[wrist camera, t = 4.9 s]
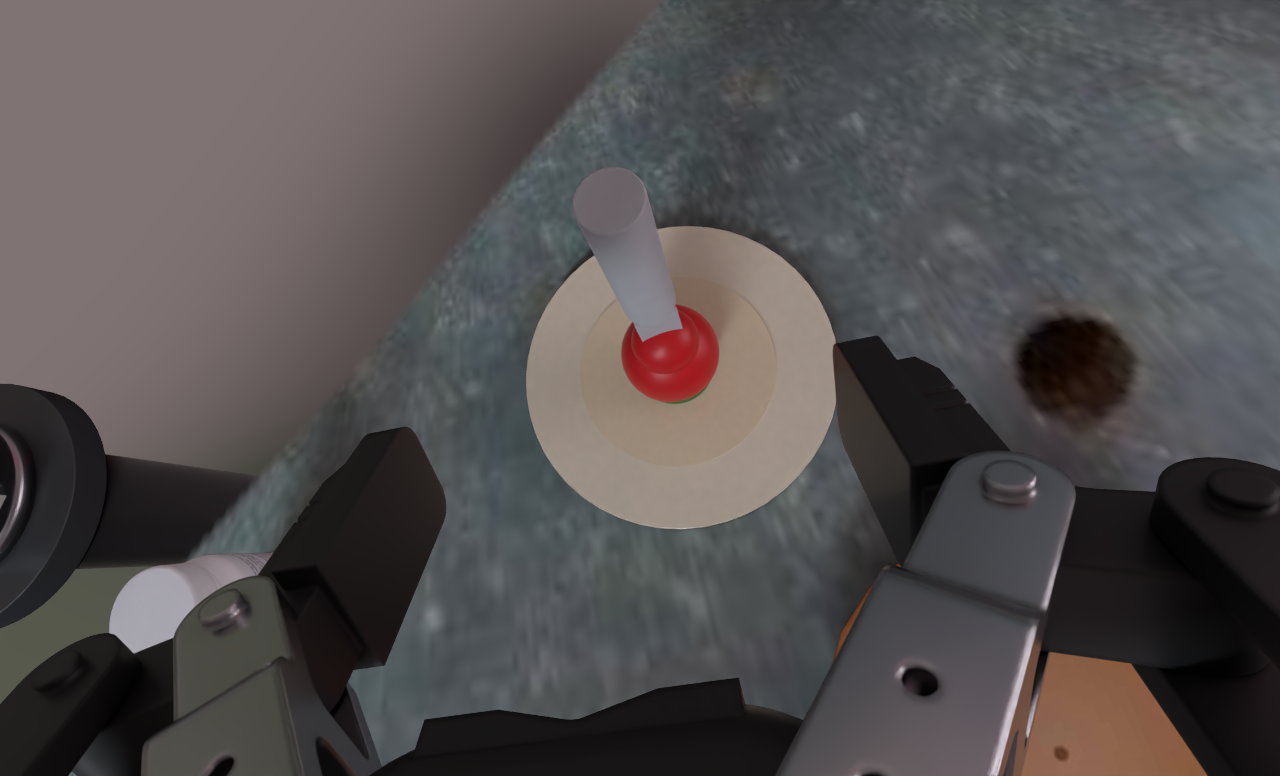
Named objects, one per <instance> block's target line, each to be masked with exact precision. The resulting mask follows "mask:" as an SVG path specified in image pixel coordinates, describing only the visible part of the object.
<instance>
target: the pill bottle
mask: <svg viewBox="0 0 1280 776" xmlns="http://www.w3.org/2000/svg"><path fill="white" fill-rule="evenodd" d="M272 554H273V553H249V554H212V555H204V556H200V557H196V558H193V559H191V560H189V561H187V562H185V563H181V564H172V565H160V566H154V567H151V568H148V569H146V570H143V571H141V572H140V573H138V574H137V575H135V576H134V577H133V578H132V579H130V580H129V581H128V582H127V584H126V585H125V586H124V587H123V589H122V590H121V592H120V593H119V595H118V597H117V599H116V601H115V603H114V605H113V608H112V612H111V616H110V628H109V632H110V633H111V634H114V635H116V636H117V637H118V638H119V639H120V640H121V641H122V642H123V643H124V644H125V645H126V646H127V647H128V648H129V649H130V650H131V651H132V652H133V653H136V652H139V651H141V650H144V649H146V648H149V647H151V646H154V645H156V644H159V643H161V642H164V641H166V640H169V639H171V638H173V637H174V634H175V632H176V629H177V628H178V626H179V624H180V623H181V622H182V620H183V619H184V618H185V616H186V615H187V614H188V613H189V612H190V611H191V610H192V609H193V608H194V607H195V606H196V605H197V604H198V603H200V602H201V601H202V600H203V599H205V598H206V597H207V596H209V595H210V594H212V593H213V592H215V591H216V590H218V589H220V588H221V587H223V586H225V585H227V584H229V583H231V582H234V581H236V580H239V579H242V578H245V577H250V576H257V575H258V574H259V572H260V571H261V570H262V568H263V567H264V565H265V564H266V563H267V561H268V560H269V558H270V557H271V556H272Z"/></svg>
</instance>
